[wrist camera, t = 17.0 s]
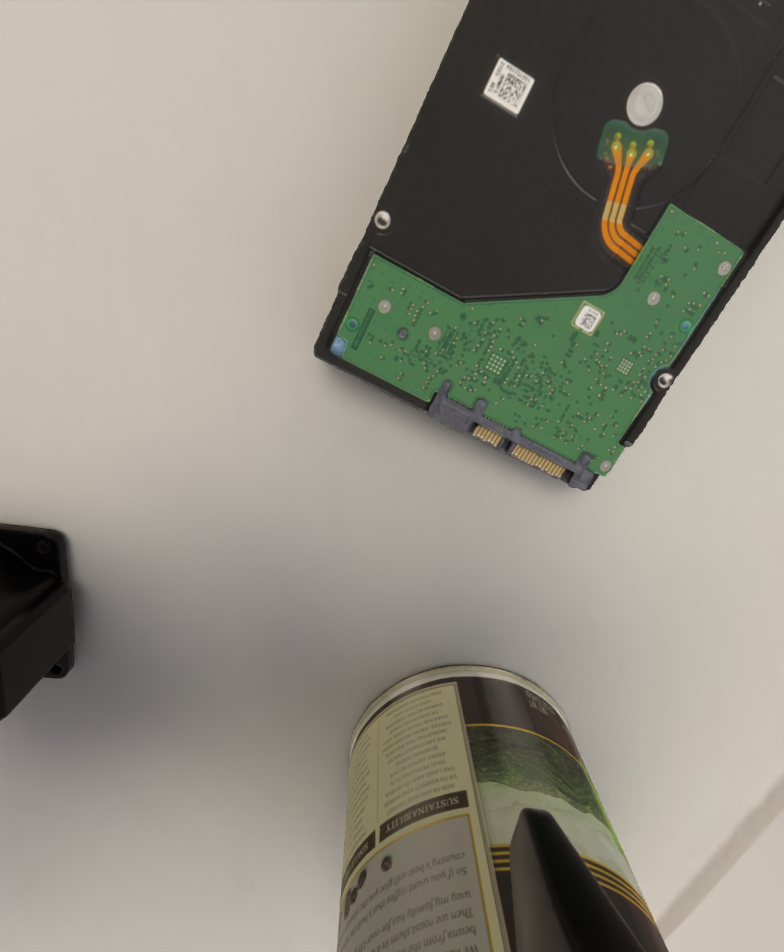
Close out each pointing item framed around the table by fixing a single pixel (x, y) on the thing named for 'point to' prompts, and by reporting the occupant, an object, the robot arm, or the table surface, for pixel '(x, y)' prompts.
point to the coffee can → (464, 814)
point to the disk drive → (568, 220)
